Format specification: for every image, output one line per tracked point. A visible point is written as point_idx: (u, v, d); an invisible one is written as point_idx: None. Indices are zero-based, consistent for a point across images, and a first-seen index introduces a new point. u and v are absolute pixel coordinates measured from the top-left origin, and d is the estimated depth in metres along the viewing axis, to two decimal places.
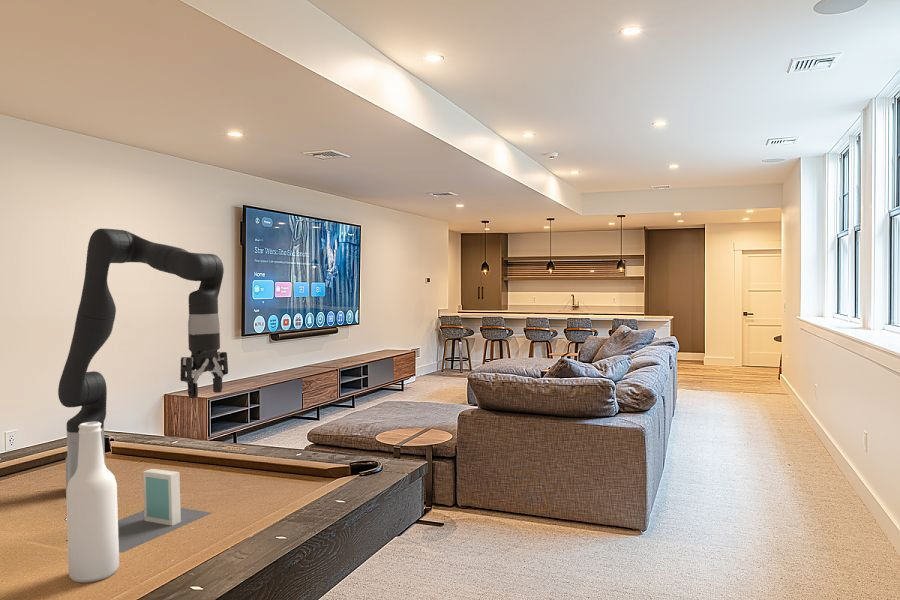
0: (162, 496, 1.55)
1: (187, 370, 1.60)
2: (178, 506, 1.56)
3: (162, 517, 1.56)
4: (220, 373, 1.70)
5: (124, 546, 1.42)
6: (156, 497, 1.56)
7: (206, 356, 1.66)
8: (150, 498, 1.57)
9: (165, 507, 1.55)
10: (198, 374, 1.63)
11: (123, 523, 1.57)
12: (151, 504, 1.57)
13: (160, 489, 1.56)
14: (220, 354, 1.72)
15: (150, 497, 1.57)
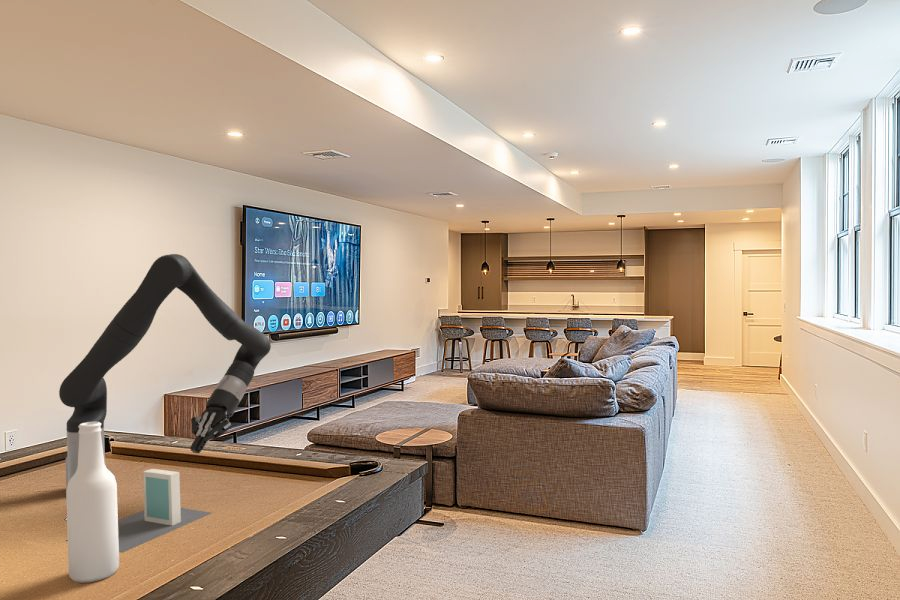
0: (162, 496, 1.55)
1: (221, 433, 1.70)
2: (178, 506, 1.56)
3: (162, 517, 1.56)
4: None
5: (124, 546, 1.42)
6: (156, 497, 1.56)
7: None
8: (150, 498, 1.57)
9: (165, 507, 1.55)
10: None
11: (123, 523, 1.57)
12: (151, 504, 1.57)
13: (160, 489, 1.56)
14: None
15: (150, 497, 1.57)
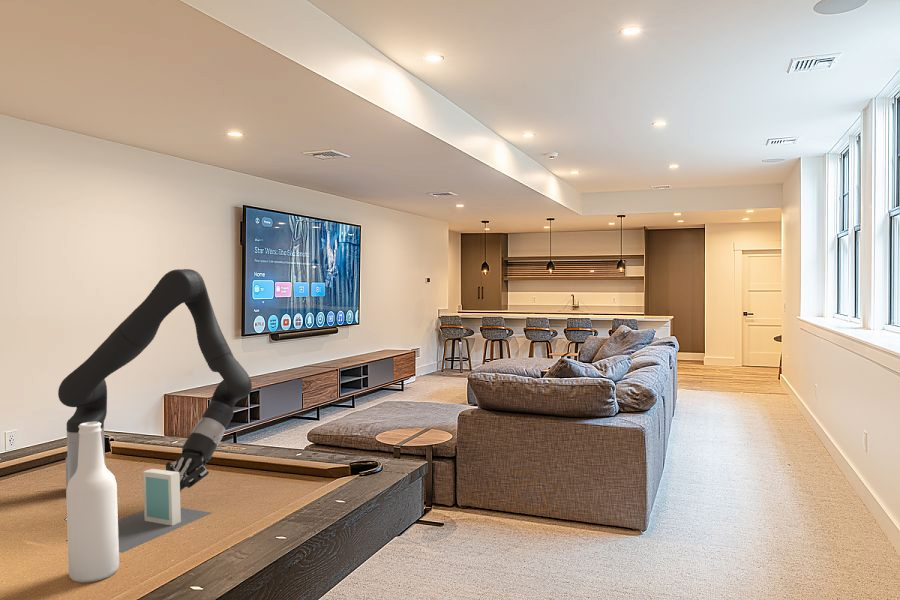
0: (162, 496, 1.55)
1: (197, 480, 1.62)
2: (178, 506, 1.56)
3: (162, 517, 1.56)
4: None
5: (124, 546, 1.42)
6: (156, 497, 1.56)
7: None
8: (150, 498, 1.57)
9: (165, 507, 1.55)
10: None
11: (123, 523, 1.57)
12: (151, 504, 1.57)
13: (160, 489, 1.56)
14: None
15: (150, 497, 1.57)
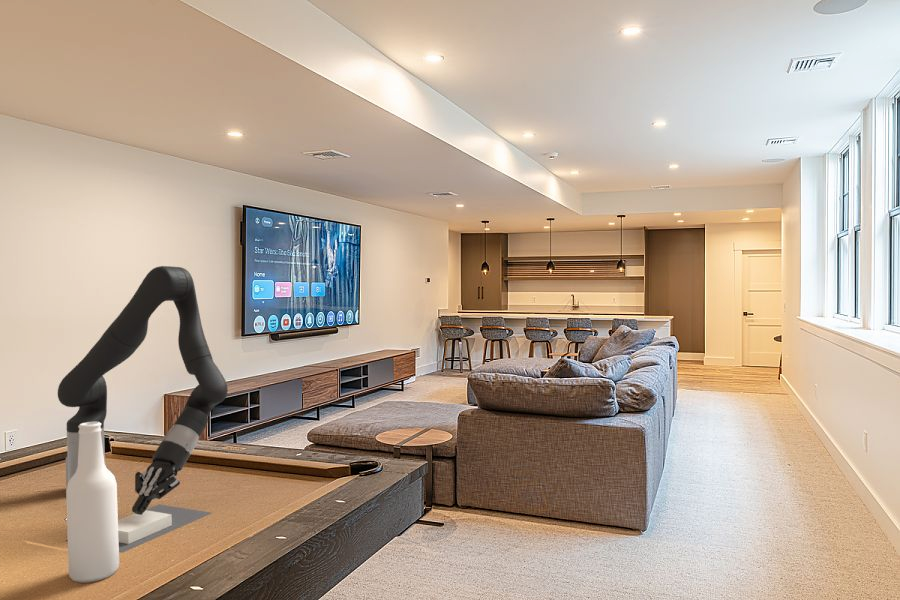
0: None
1: (167, 491, 1.54)
2: (157, 522, 1.51)
3: None
4: None
5: (124, 546, 1.42)
6: None
7: None
8: None
9: None
10: None
11: None
12: None
13: None
14: None
15: None
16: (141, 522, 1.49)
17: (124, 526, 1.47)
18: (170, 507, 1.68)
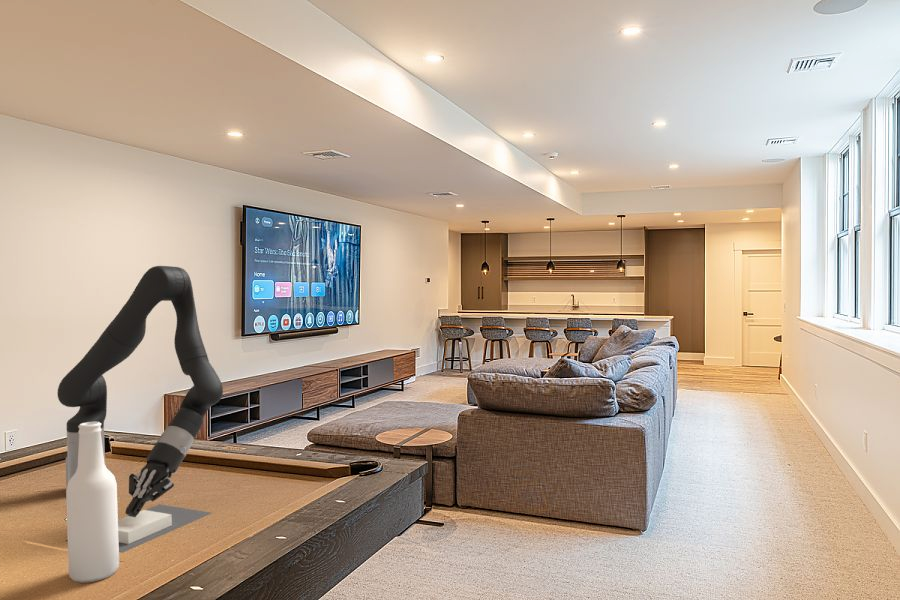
0: None
1: (161, 493, 1.52)
2: (157, 522, 1.51)
3: None
4: None
5: (124, 546, 1.42)
6: None
7: None
8: None
9: None
10: None
11: None
12: None
13: None
14: None
15: None
16: (141, 522, 1.49)
17: (124, 526, 1.47)
18: (170, 507, 1.68)
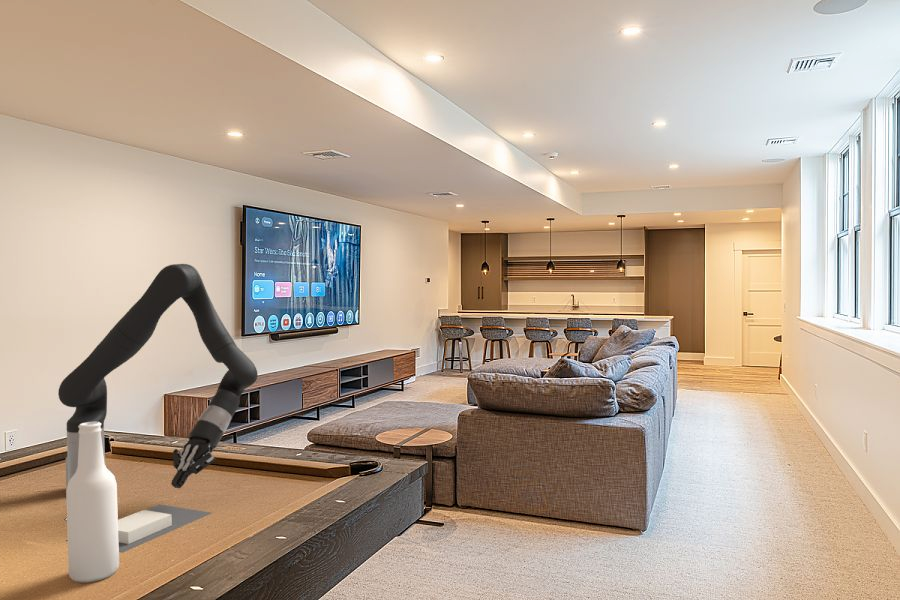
0: None
1: (204, 467, 1.64)
2: (157, 522, 1.51)
3: None
4: None
5: (124, 546, 1.42)
6: None
7: None
8: None
9: None
10: None
11: None
12: None
13: None
14: None
15: None
16: (141, 522, 1.49)
17: (124, 526, 1.47)
18: (170, 507, 1.68)
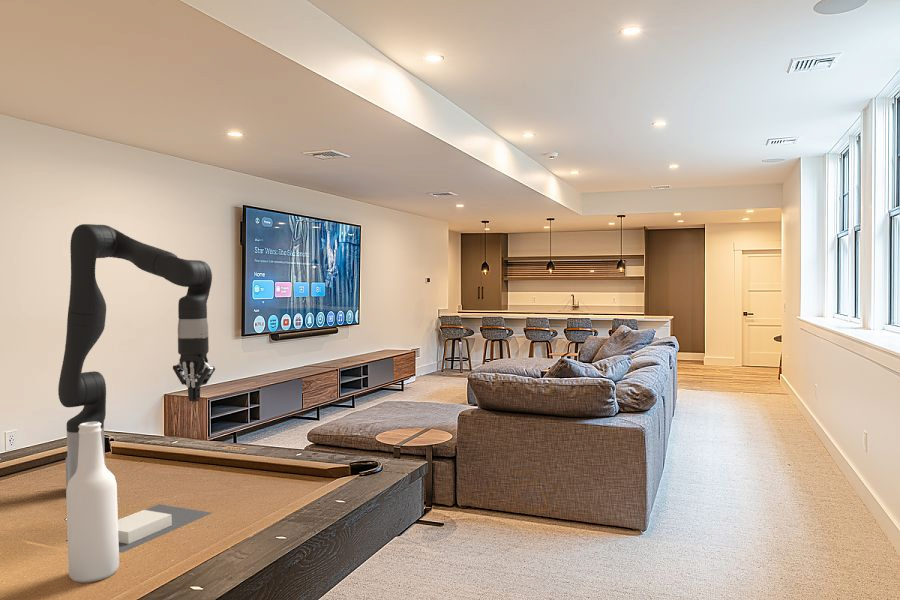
0: None
1: (209, 377, 1.72)
2: (157, 522, 1.51)
3: None
4: None
5: (124, 546, 1.42)
6: None
7: None
8: None
9: None
10: None
11: None
12: None
13: None
14: None
15: None
16: (141, 522, 1.49)
17: (124, 526, 1.47)
18: (170, 507, 1.68)
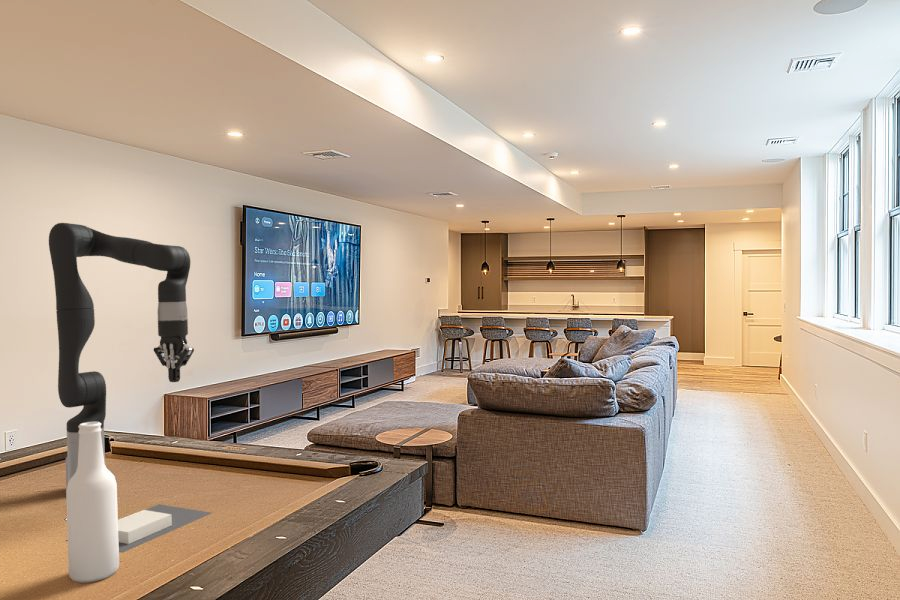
0: None
1: (188, 358, 1.78)
2: (157, 522, 1.51)
3: None
4: None
5: (124, 546, 1.42)
6: None
7: None
8: None
9: None
10: None
11: None
12: None
13: None
14: None
15: None
16: (141, 522, 1.49)
17: (124, 526, 1.47)
18: (170, 507, 1.68)
